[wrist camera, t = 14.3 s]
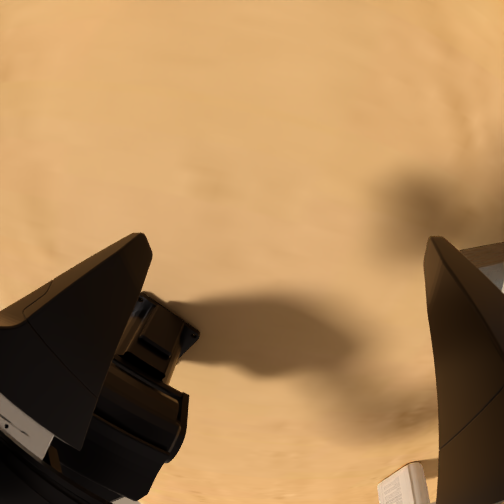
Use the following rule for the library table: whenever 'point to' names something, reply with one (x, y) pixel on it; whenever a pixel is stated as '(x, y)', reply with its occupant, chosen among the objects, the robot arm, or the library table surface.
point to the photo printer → (405, 486)
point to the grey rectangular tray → (488, 261)
